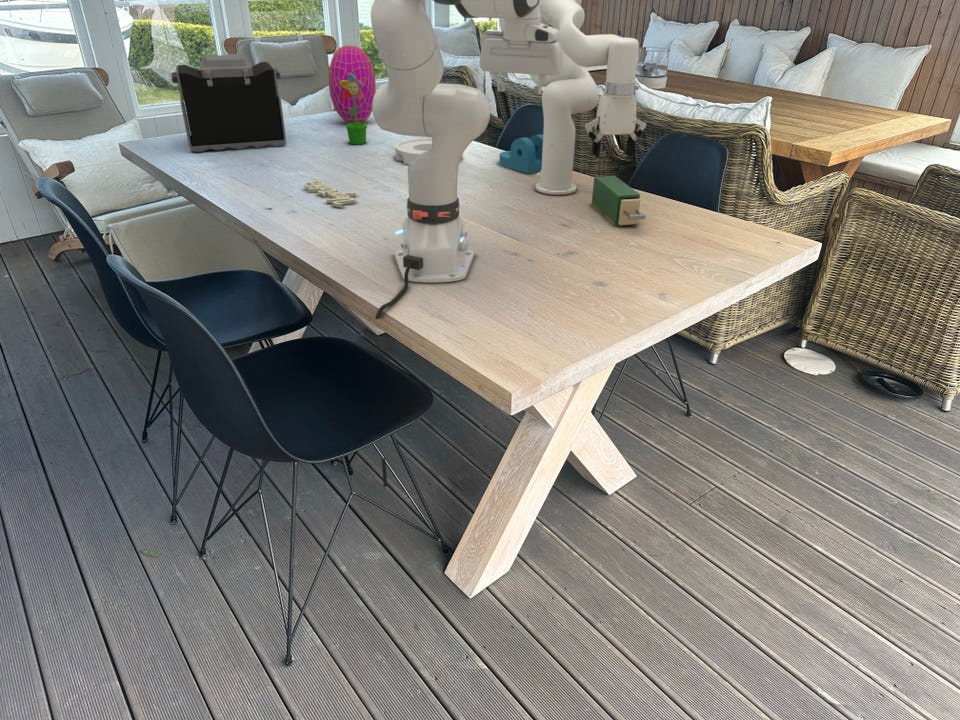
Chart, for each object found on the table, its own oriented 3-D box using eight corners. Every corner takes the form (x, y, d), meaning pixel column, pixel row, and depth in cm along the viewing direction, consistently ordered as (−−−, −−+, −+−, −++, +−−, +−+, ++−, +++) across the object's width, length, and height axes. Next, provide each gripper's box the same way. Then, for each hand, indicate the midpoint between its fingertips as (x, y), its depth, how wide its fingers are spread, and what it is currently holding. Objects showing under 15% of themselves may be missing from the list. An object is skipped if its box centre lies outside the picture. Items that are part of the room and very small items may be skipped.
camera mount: (550, 168, 233) (552, 137, 227) (527, 173, 227) (529, 141, 222) (515, 157, 245) (516, 127, 239) (493, 162, 239) (493, 131, 234)
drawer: (645, 230, 179) (648, 205, 176) (627, 231, 178) (630, 207, 175) (613, 204, 198) (616, 181, 195) (597, 205, 197) (599, 182, 194)
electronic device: (283, 133, 274) (272, 51, 259) (291, 146, 256) (280, 59, 241) (185, 140, 262) (168, 54, 247) (186, 153, 245) (167, 62, 229)
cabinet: (636, 224, 186) (640, 194, 181) (614, 226, 184) (618, 195, 180) (611, 203, 201) (614, 175, 197) (591, 204, 200) (594, 176, 196)
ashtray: (454, 167, 232) (454, 155, 230) (388, 164, 235) (387, 152, 233) (466, 151, 252) (466, 140, 250) (404, 148, 255) (404, 137, 253)
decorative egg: (362, 116, 305) (357, 42, 290) (386, 123, 292) (382, 46, 277) (324, 121, 294) (316, 45, 279) (347, 129, 281) (340, 49, 266)
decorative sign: (368, 198, 199) (337, 205, 193) (368, 202, 199) (337, 208, 194) (326, 178, 217) (297, 183, 211) (326, 181, 217) (297, 186, 212)
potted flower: (342, 144, 260) (336, 73, 247) (351, 139, 266) (346, 70, 254) (365, 146, 257) (360, 74, 245) (374, 141, 264) (369, 71, 251)
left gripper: (475, 30, 163) (475, 91, 171) (559, 34, 158) (555, 97, 165) (484, 27, 168) (484, 87, 176) (565, 31, 163) (561, 93, 170)
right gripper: (644, 86, 185) (636, 151, 194) (583, 88, 182) (578, 153, 191) (656, 91, 179) (647, 157, 188) (593, 92, 176) (587, 160, 184)
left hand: (519, 92), depth 170 cm, fingers open, 8 cm apart
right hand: (612, 155), depth 189 cm, fingers open, 9 cm apart
